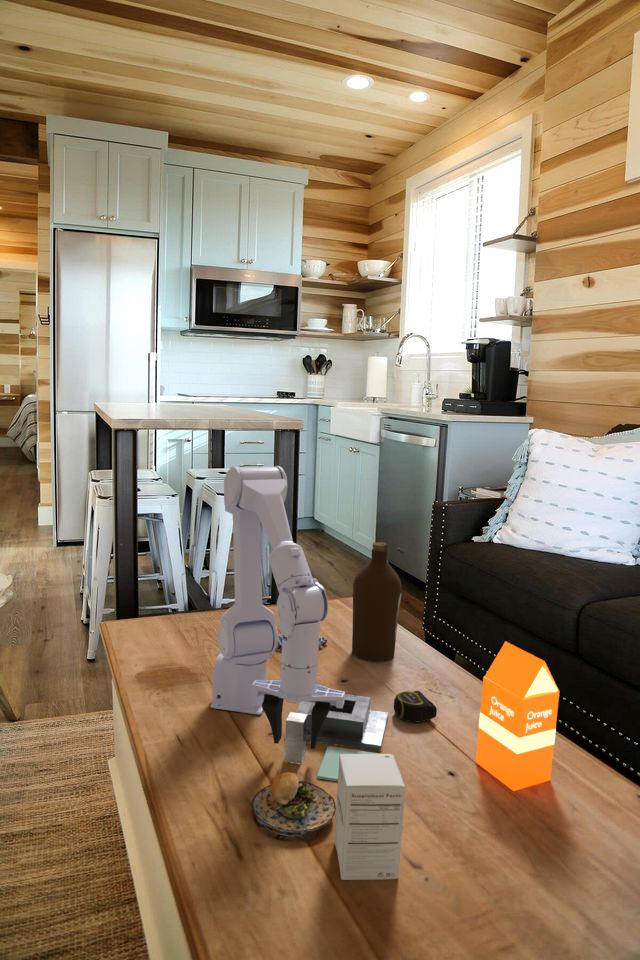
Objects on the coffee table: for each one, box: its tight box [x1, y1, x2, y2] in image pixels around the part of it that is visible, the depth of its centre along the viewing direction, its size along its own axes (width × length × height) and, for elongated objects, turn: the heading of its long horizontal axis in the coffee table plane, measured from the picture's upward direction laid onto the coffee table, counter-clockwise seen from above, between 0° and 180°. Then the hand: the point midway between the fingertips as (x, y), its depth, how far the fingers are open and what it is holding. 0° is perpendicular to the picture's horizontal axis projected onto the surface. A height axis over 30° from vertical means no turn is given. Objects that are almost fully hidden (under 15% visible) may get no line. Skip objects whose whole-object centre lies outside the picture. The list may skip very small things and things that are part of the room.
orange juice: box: [475, 641, 560, 792], centre depth 110 cm, size 8×9×20 cm
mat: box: [316, 745, 379, 782], centre depth 111 cm, size 9×9×1 cm
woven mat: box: [275, 634, 329, 653], centre depth 159 cm, size 10×11×2 cm
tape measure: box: [393, 690, 438, 723], centre depth 128 cm, size 7×7×4 cm
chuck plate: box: [294, 693, 389, 752], centre depth 123 cm, size 16×12×4 cm
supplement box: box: [334, 753, 406, 881], centre depth 88 cm, size 7×7×13 cm
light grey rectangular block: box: [283, 711, 307, 765], centre depth 112 cm, size 3×3×7 cm
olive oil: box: [351, 541, 403, 663], centre depth 155 cm, size 11×11×25 cm
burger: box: [250, 766, 336, 843], centre depth 98 cm, size 12×12×8 cm
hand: (295, 743), depth 112 cm, fingers open, 5 cm apart
